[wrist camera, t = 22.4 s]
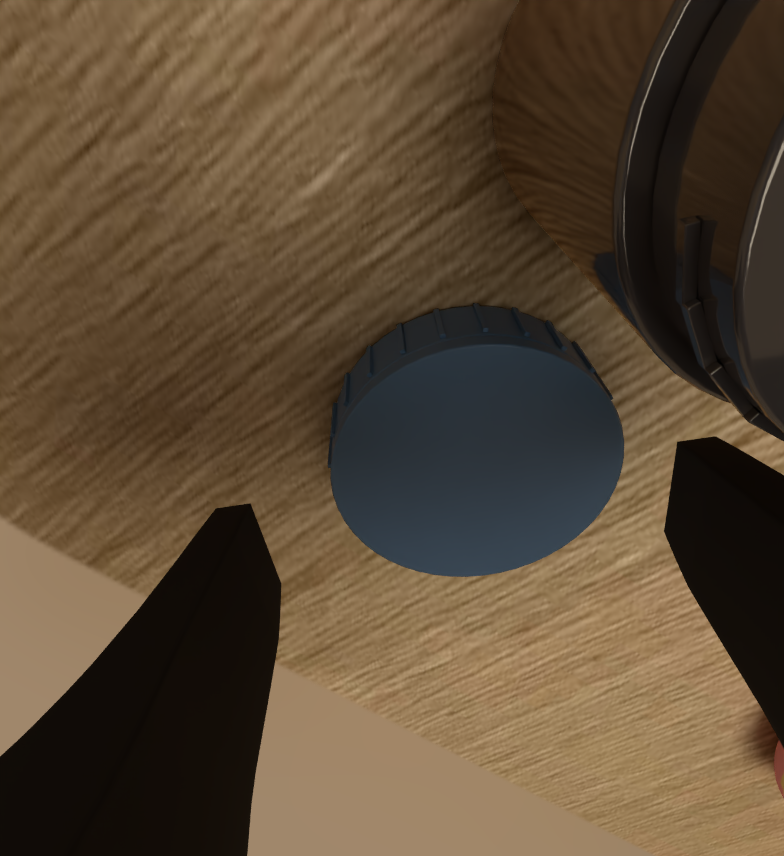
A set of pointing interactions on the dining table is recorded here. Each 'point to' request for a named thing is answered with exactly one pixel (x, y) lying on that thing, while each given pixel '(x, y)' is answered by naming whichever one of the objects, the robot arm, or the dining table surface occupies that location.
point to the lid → (473, 442)
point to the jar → (661, 173)
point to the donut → (779, 766)
